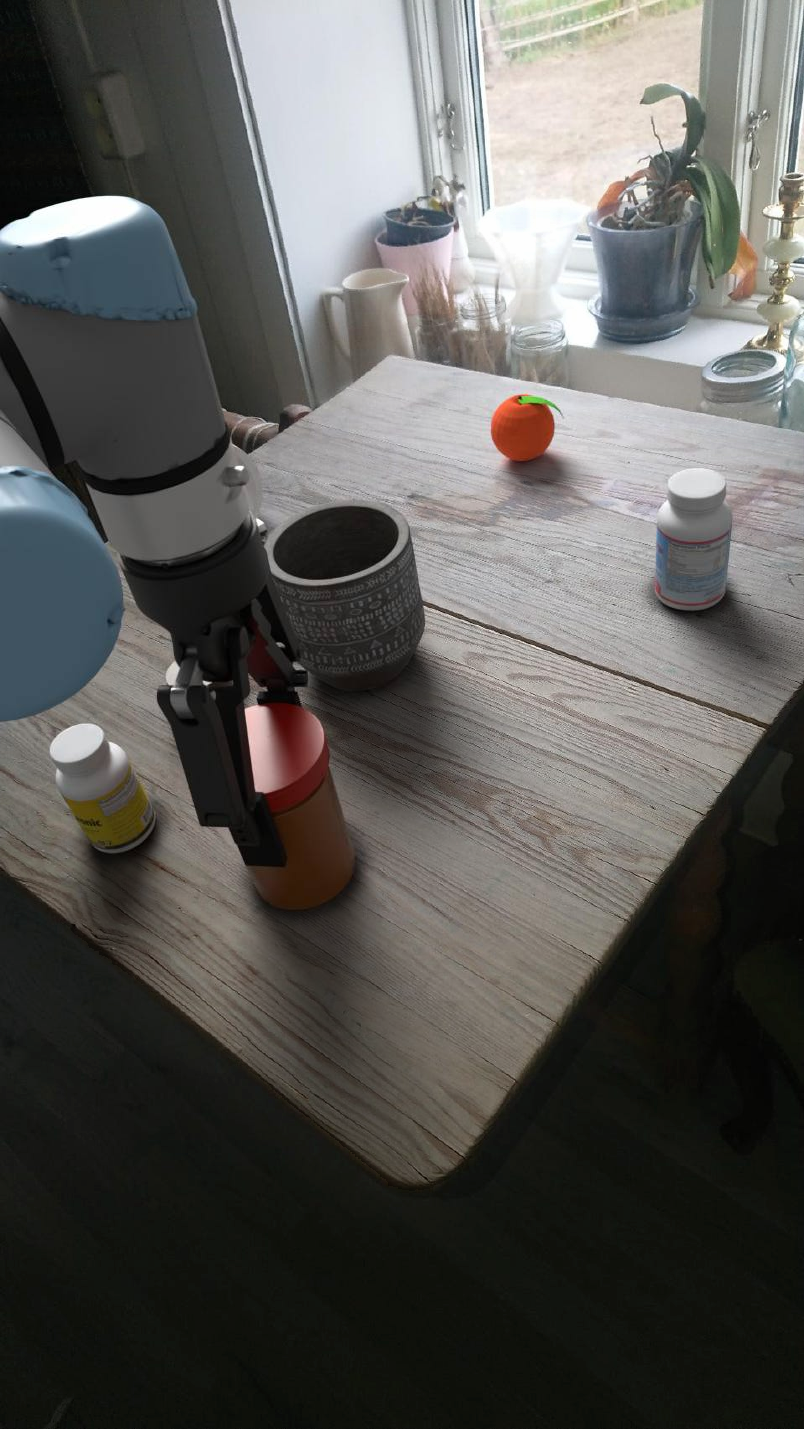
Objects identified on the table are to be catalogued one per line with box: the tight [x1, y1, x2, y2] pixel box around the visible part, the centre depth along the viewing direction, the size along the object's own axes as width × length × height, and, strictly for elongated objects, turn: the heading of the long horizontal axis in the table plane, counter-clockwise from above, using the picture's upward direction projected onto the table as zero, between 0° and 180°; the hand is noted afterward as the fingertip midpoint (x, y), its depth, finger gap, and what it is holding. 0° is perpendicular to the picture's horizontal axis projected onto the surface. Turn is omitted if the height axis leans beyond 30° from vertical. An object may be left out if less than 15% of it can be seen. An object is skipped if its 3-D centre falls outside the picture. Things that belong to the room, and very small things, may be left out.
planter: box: [263, 499, 426, 692], centre depth 83 cm, size 12×12×13 cm
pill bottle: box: [654, 467, 733, 611], centre depth 83 cm, size 6×6×11 cm
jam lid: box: [244, 703, 331, 813], centre depth 63 cm, size 8×8×2 cm
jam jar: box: [245, 765, 356, 911], centre depth 67 cm, size 8×8×12 cm
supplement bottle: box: [49, 723, 157, 854], centre depth 73 cm, size 5×5×10 cm
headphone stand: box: [233, 444, 267, 534], centre depth 102 cm, size 5×6×12 cm
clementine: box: [490, 393, 565, 462], centre depth 105 cm, size 8×7×7 cm
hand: (282, 809), depth 67 cm, fingers closed on jam lid, 8 cm apart
